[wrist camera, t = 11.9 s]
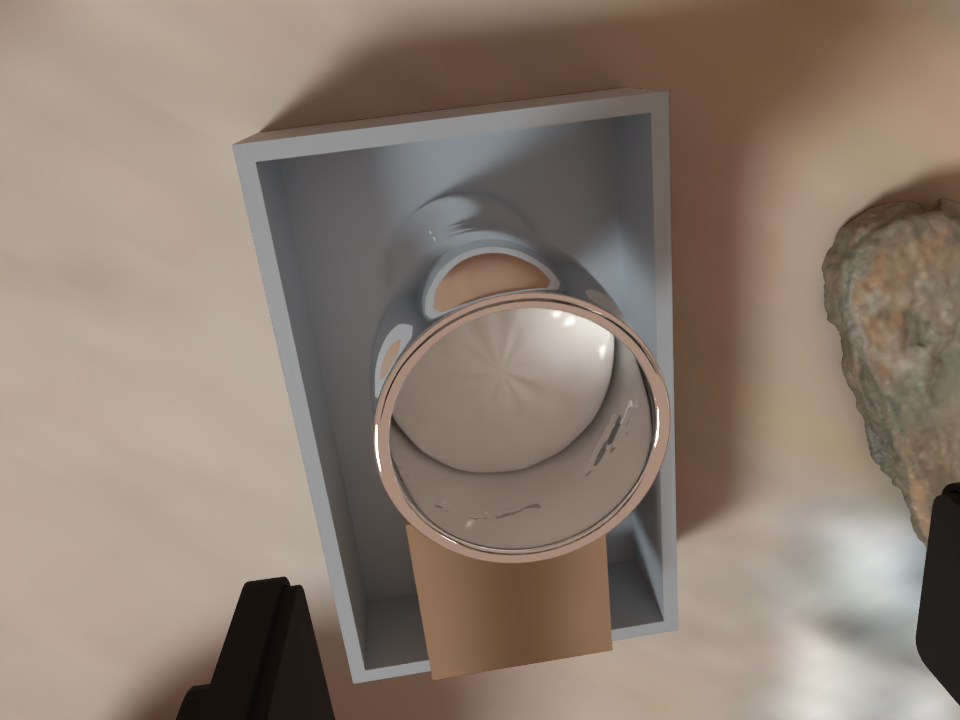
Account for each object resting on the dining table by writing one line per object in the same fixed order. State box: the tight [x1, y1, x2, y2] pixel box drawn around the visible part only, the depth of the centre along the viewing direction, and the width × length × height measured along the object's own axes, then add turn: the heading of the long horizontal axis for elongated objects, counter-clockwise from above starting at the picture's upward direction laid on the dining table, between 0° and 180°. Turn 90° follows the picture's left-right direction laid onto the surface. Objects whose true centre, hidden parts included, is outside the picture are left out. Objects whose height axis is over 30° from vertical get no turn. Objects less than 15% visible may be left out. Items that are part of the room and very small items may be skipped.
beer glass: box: [369, 193, 671, 563], centre depth 23 cm, size 7×7×15 cm
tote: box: [232, 87, 678, 684], centre depth 30 cm, size 14×22×5 cm, turn 6°
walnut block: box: [405, 519, 612, 680], centre depth 31 cm, size 7×7×7 cm
